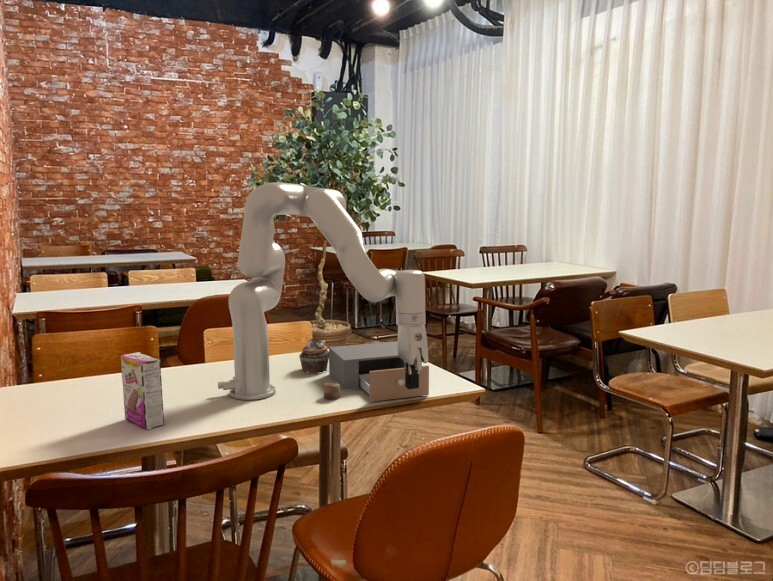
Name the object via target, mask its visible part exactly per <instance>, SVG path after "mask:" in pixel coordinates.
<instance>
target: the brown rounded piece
mask: <svg viewBox="0 0 773 581" xmlns="http://www.w3.org/2000/svg"><path fill="white" fill-rule="evenodd" d="M324 398H325V400H328V401H329V400H330V401H336V400H338V399H340V398H341V386H340V384H338V383H337V382H327V383H324V384H323V399H324Z"/></svg>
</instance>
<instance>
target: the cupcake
mask: <svg viewBox="0 0 773 581" xmlns="http://www.w3.org/2000/svg"><path fill="white" fill-rule="evenodd" d="M301 351H302V352H301V353H300V354H299V355H298V356H299V361H300V365H301V370H303V371H304V372H303V371H302V372H303V373H305V372H309V373H308V374H319V373H318V372H322V373H324V372H323V371H325V370H326V371H328V366H329V365H328V364H329V347H328V345H326V341H325V339H324V338H312V337H311V338H310V339H308V340H307V343H306V344H305V345H304V346H303V348H302V349H301ZM326 371H325V372H326Z"/></svg>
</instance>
